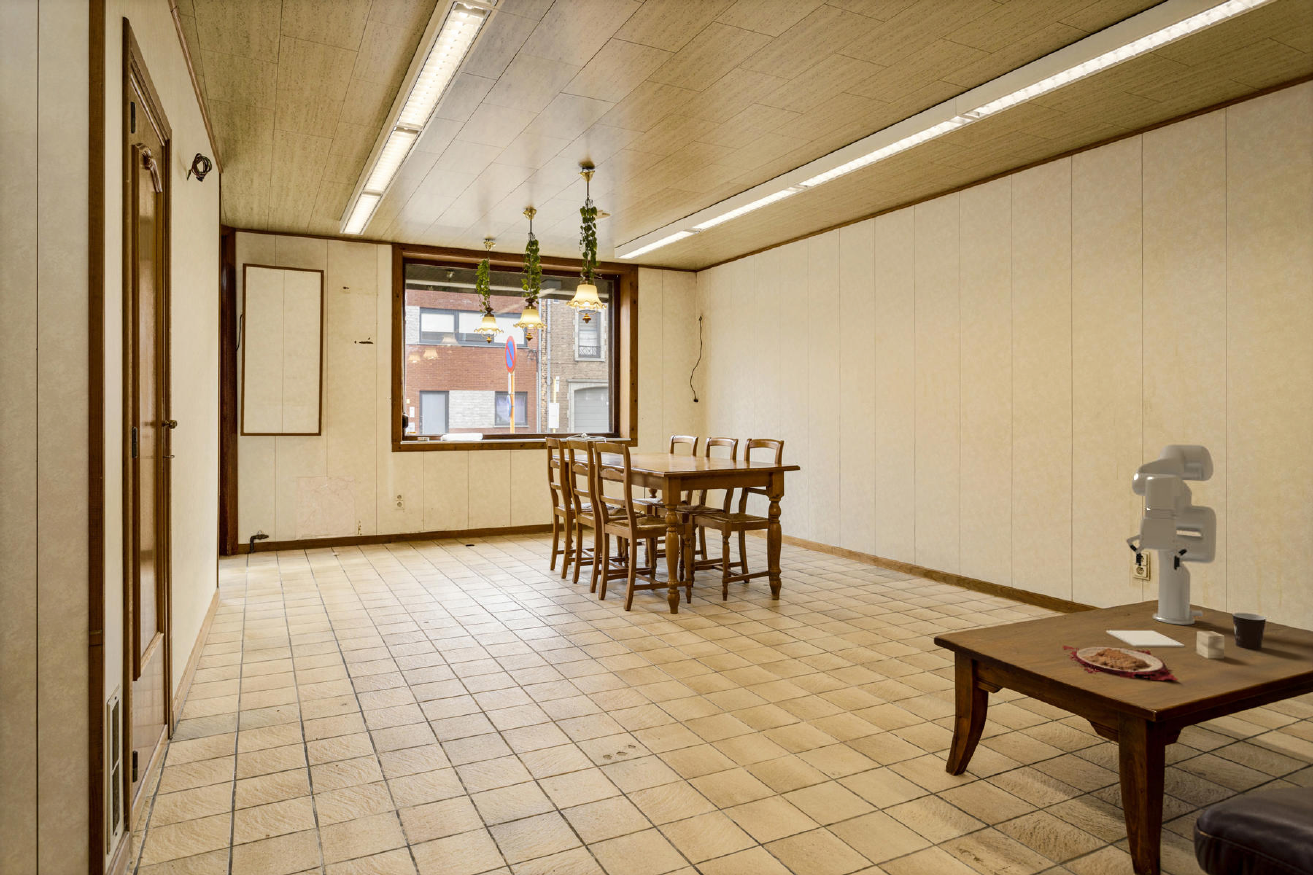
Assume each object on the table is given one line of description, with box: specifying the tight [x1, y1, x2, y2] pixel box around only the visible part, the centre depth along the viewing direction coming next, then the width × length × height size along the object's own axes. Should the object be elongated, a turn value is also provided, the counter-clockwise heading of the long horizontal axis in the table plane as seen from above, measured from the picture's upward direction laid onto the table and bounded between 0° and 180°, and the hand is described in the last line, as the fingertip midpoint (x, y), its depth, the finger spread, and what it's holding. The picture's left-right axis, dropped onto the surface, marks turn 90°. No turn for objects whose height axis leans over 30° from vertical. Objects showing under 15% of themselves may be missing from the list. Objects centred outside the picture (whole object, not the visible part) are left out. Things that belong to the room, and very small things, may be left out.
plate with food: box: [1062, 645, 1178, 682], centre depth 233 cm, size 25×26×4 cm
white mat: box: [1106, 630, 1185, 648], centre depth 258 cm, size 16×16×1 cm
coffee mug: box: [1232, 612, 1267, 651], centre depth 250 cm, size 12×9×10 cm
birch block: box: [1196, 630, 1225, 659], centre depth 240 cm, size 5×5×7 cm
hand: (1157, 567), depth 246 cm, fingers open, 9 cm apart
